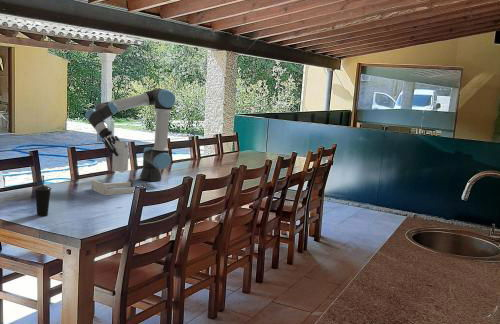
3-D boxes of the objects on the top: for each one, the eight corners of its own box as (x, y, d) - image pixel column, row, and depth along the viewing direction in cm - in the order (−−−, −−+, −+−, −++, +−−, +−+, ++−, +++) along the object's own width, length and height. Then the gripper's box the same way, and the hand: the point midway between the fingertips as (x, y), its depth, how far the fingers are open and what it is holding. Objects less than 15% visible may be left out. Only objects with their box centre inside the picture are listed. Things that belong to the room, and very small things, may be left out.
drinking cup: (37, 212, 251) (37, 173, 248) (52, 213, 251) (53, 174, 248) (31, 216, 243) (32, 176, 240) (47, 217, 244) (48, 177, 241)
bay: (131, 185, 330) (131, 176, 329) (145, 191, 317) (146, 182, 316) (91, 188, 312) (91, 179, 311) (104, 195, 298) (105, 185, 297)
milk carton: (122, 172, 309) (123, 142, 306) (112, 171, 310) (112, 141, 307) (127, 170, 316) (128, 140, 312) (117, 169, 317) (118, 139, 314)
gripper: (109, 133, 324) (130, 160, 321) (89, 135, 304) (112, 164, 302) (116, 125, 321) (137, 153, 319) (97, 127, 302) (120, 157, 300)
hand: (125, 158), depth 311 cm, fingers closed on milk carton, 8 cm apart
